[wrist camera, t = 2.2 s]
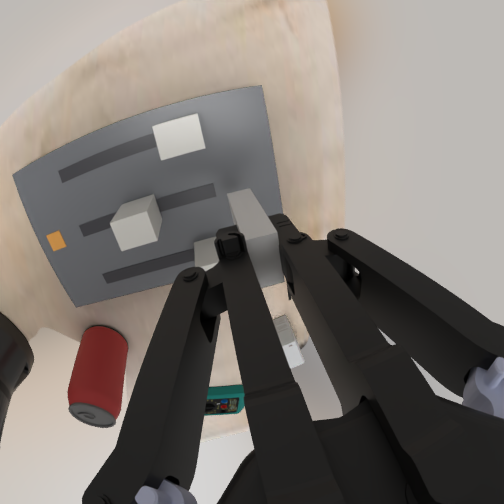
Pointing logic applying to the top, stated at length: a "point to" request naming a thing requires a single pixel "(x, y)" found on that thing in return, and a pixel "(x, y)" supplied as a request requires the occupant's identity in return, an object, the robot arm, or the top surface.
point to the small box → (288, 341)
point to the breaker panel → (150, 191)
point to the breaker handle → (137, 223)
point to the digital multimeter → (224, 400)
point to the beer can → (98, 377)
